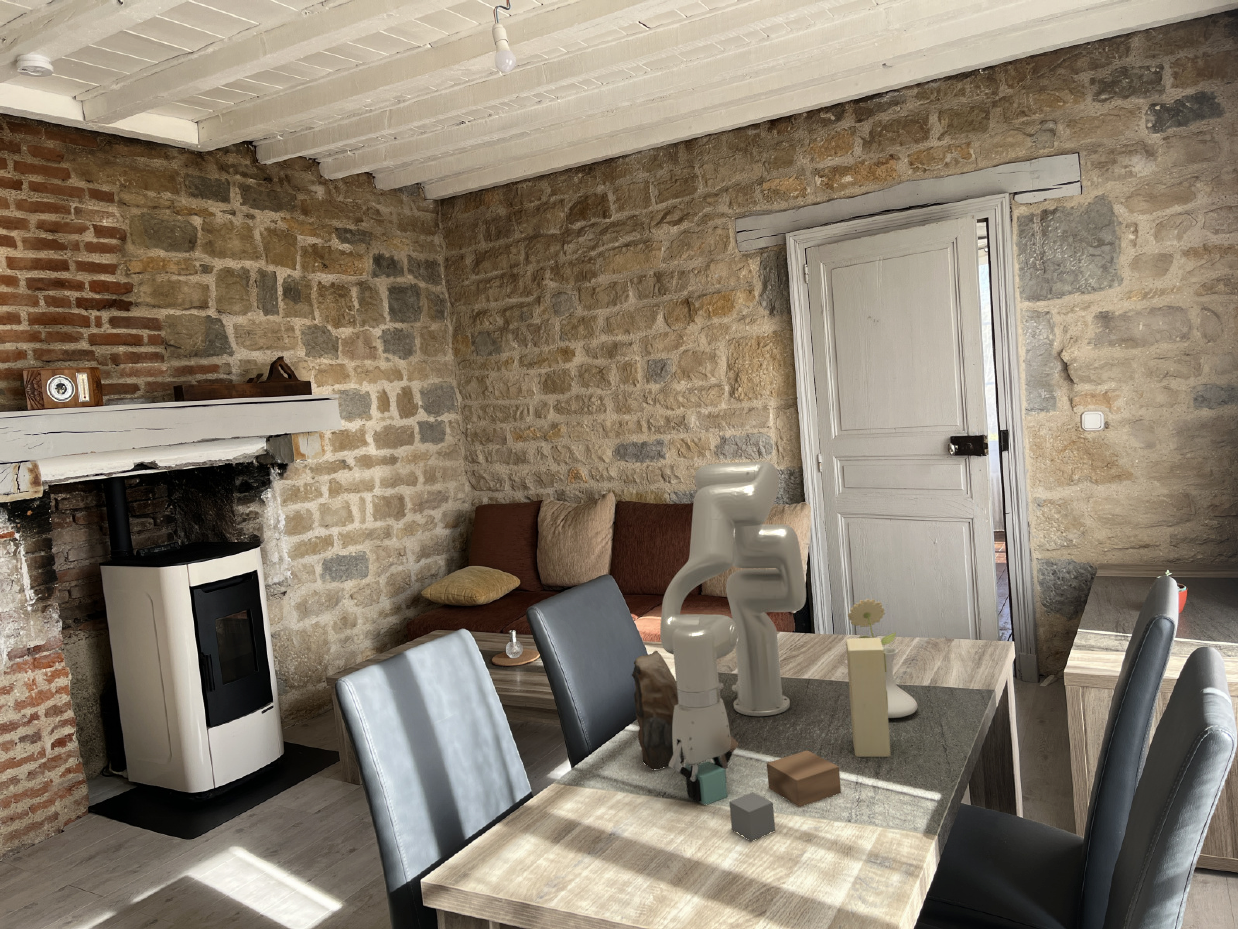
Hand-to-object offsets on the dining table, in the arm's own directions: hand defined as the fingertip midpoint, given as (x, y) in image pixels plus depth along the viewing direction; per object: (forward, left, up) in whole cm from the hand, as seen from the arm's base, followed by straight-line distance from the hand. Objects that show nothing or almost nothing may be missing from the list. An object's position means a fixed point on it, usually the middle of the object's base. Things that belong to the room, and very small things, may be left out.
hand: (707, 793), depth 157 cm
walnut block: (+10, +14, -1) cm, 17 cm away
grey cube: (+15, -2, -1) cm, 15 cm away
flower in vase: (-5, +52, -1) cm, 52 cm away
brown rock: (-19, +5, -1) cm, 20 cm away
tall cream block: (+6, +36, -1) cm, 37 cm away
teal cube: (0, 0, -1) cm, 1 cm away
